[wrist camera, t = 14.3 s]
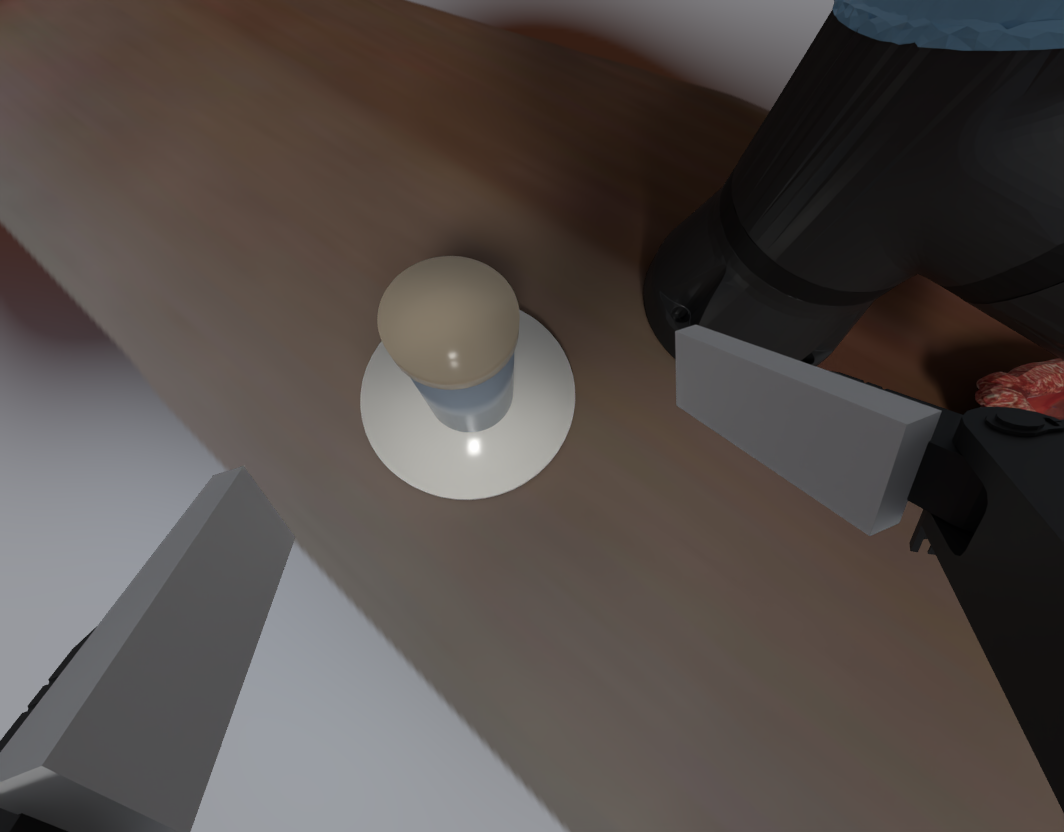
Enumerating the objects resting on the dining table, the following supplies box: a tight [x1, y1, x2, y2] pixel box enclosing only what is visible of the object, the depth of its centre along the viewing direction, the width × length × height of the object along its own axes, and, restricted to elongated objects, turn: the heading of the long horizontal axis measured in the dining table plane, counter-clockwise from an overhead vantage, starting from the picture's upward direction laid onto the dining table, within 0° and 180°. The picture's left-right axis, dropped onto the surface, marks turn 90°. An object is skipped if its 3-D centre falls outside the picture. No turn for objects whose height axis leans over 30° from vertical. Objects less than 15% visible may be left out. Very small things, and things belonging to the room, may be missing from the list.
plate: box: [360, 310, 575, 500], centre depth 28 cm, size 15×15×1 cm
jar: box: [377, 256, 520, 433], centre depth 22 cm, size 6×6×10 cm
